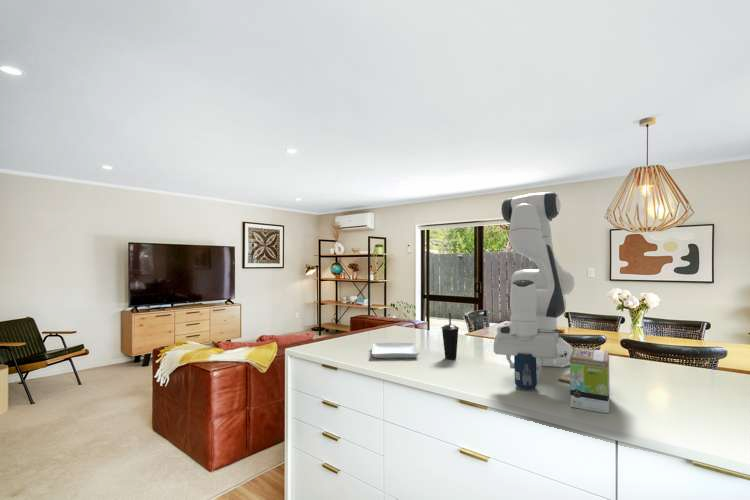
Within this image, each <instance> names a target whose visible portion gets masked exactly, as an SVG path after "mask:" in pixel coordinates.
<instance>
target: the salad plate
mask: <svg viewBox="0 0 750 500" xmlns="http://www.w3.org/2000/svg"><path fill="white" fill-rule="evenodd" d="M371 349H372V350H371V355H372V356H373V357H374V358H376V359H377V358H378V359H413V358H417V357H418V356H419V354H420V351H419V349H418V346H417V344H416V343H415V342H372V348H371Z"/></svg>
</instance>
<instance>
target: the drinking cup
mask: <svg viewBox="0 0 750 500" xmlns="http://www.w3.org/2000/svg"><path fill="white" fill-rule="evenodd" d="M451 316H452V314H451V313H450V312H449V313H448V323H449V324H445V325H444V326H441V331H442V341H443V349H444V358H445V360H450V361H454V360H457V355H458V354H457V352H458V337H459V336H458V335H459V330H460V327H459V326H456V325H455V324H452V319H451Z"/></svg>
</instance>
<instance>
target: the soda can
mask: <svg viewBox="0 0 750 500" xmlns="http://www.w3.org/2000/svg"><path fill="white" fill-rule="evenodd" d="M513 361H514V368H515V369H514V385H515V386H516V387H517V389H519V390H522V391H533V390H535V389H536V387H537V386H538V379H537V376H538V375H537V372H538V371H536V357H533V356H532V354H522V353H518V354H517V355H516V356H514V357H513Z"/></svg>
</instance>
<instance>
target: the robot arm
mask: <svg viewBox="0 0 750 500" xmlns="http://www.w3.org/2000/svg"><path fill="white" fill-rule="evenodd" d="M561 204H562V203H561V200H560V198H559V196H558V194H556V193H555V192H553V191H546V192H535V193H534V192H533V193H528V194H524V195H523V194H522V195H518V196H515V197H513V196H511V197H509V198H506V199H504V200H503V202H502V203H501V216H502V219H503V220H504V221H505V222H507V223H509V242H510V246H511V248H512V250H513V251H514V252H516V253H517V254H519V255H520V256H522V257H525V258H527V259H528V260H529V261H532V262H533V263H535V265H536V266H537V268H526V269H519V270H516V271H514V272H513V274H512V276H511V279H510V291H509V292H510V293H508V295H507V308H508V310H509V311H510V313H511V314H510V318H509V319H510V322H506V323H502V324H499V325H497V327H496V335H495V336H494V340H493V353H494V354H495V355H502V356H506V358H505V359H506V361H507V362H508V363H509V369H514V370H515V368H514V362H513V361H512V360H511V357H513V356H516V355H517V354H518V353H522V354H532V356H533V357H536V371H537V372H542V366H544V367H555V368H564V367H568V366H570V356H571V354H572V352H573V349H574V347H573V346H572V345H571V344H570V343H568V342H567V341H566V340H564V339H563V338H562V337H561V335H565V334H566V330H565V329H562V328H559V329H558V318H559V317H560V316H562V315H564V313H566V308H567V301H566V298H565V296H566V295H567V296H568V295H569V294H571V292H572V291H573V290H574V287H575V279H574V276H573V274H572V273H571V272H570V271H568V270H567V269H565V267H563V266H562V265H561V264H560V263H559V261H558V259H557V257H556V255H555V251H554V245H553V237H552V230H551V224H550V222H552V221H553V219H555V218H557V216H558V215H560V214H559V213H560V210H561V208H562V207H561Z"/></svg>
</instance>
